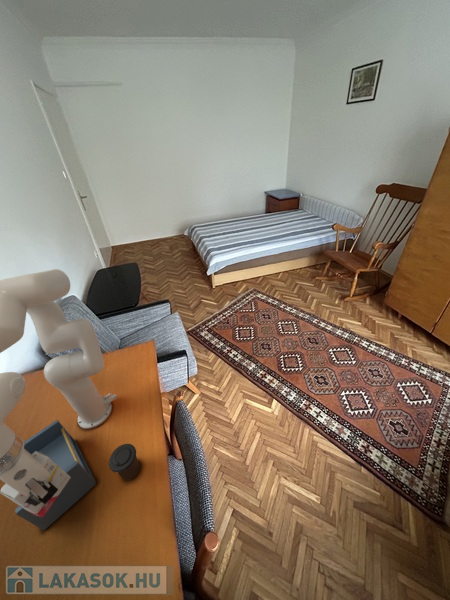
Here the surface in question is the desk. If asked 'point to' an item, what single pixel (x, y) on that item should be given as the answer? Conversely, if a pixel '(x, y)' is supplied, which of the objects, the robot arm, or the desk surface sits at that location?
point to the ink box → (55, 478)
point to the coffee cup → (124, 461)
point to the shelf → (70, 460)
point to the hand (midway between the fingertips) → (43, 487)
